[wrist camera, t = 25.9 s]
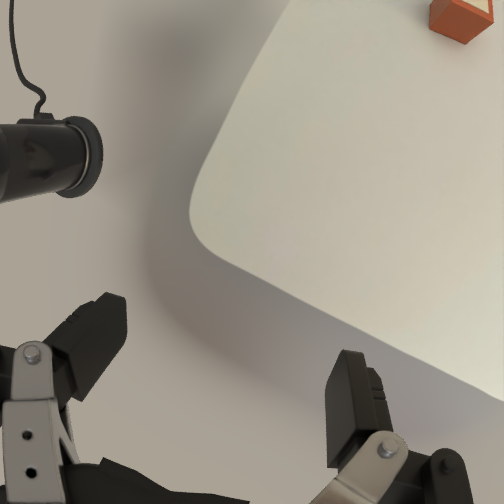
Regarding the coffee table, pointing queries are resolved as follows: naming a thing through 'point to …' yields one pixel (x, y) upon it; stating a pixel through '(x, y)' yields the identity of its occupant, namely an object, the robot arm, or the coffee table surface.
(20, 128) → the robot arm
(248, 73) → the coffee table surface
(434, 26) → the orange box with label
